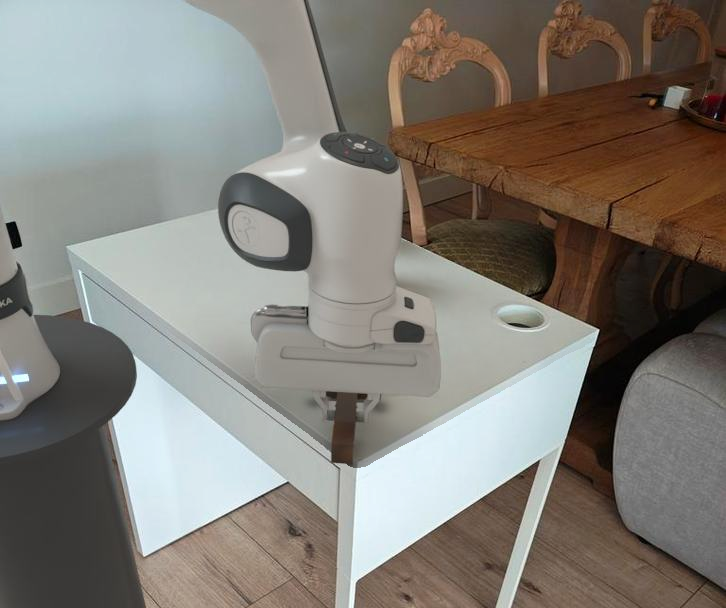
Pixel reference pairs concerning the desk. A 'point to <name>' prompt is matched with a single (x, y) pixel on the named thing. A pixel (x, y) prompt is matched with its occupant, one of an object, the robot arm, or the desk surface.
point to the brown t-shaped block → (344, 426)
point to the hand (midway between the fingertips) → (345, 418)
